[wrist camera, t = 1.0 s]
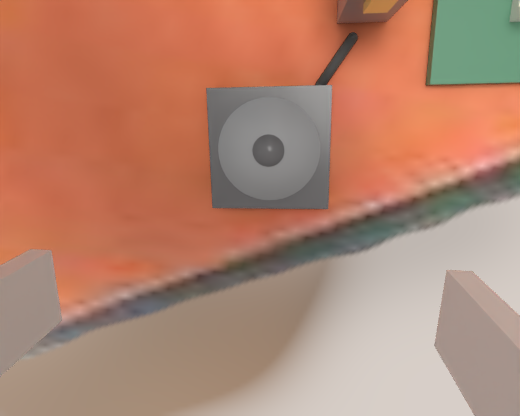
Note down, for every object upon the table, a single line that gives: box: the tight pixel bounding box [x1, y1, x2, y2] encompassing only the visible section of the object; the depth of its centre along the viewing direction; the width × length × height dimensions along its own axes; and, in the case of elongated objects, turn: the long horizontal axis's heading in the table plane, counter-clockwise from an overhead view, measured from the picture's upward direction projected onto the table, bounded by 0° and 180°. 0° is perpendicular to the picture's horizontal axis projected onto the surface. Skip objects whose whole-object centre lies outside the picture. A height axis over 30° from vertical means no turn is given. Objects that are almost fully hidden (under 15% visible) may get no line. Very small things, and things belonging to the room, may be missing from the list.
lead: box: [316, 32, 358, 85], centre depth 30 cm, size 5×1×1 cm, turn 146°
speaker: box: [206, 85, 332, 209], centre depth 31 cm, size 10×10×4 cm
